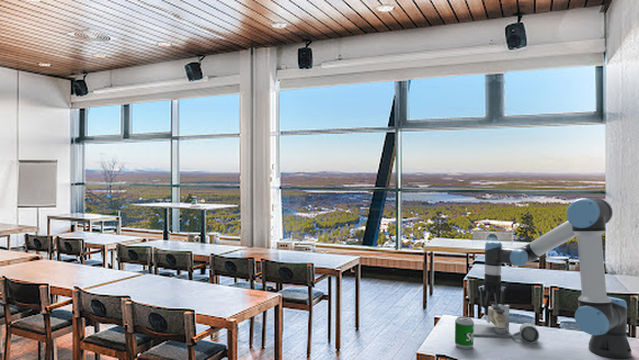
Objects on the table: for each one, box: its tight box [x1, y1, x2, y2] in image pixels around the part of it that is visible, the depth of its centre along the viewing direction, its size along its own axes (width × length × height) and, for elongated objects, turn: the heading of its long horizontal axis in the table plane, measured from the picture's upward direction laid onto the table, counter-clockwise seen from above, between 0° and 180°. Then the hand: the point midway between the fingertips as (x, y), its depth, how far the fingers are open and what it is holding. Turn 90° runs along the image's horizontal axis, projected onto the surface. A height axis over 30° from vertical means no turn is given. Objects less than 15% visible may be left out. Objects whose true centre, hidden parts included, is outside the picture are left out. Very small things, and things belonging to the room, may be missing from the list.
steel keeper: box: [490, 304, 510, 332], centre depth 209 cm, size 2×8×13 cm, turn 88°
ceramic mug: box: [512, 322, 540, 345], centre depth 200 cm, size 11×8×8 cm
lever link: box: [489, 306, 505, 328], centre depth 211 cm, size 14×4×8 cm, turn 0°
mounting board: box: [474, 323, 513, 339], centre depth 211 cm, size 15×18×4 cm
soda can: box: [454, 316, 475, 350], centre depth 191 cm, size 8×8×12 cm
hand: (491, 322), depth 215 cm, fingers closed on lever link, 3 cm apart
